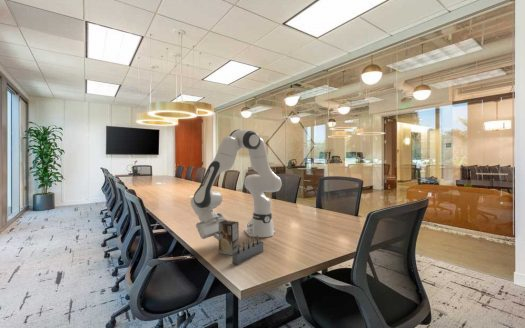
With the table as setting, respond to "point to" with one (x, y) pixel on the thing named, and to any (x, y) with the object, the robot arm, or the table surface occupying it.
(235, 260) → the peg rack
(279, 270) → the table surface
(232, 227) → the coffee box
